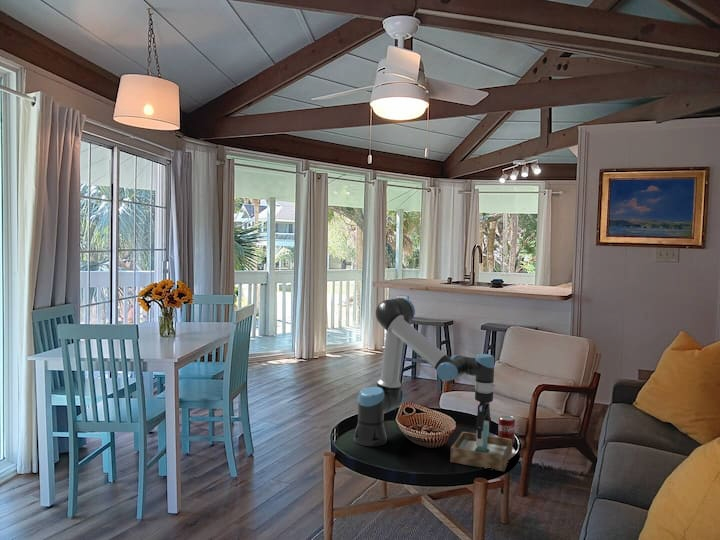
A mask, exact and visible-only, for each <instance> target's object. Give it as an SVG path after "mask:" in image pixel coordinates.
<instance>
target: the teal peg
mask: <svg viewBox="0 0 720 540" xmlns="http://www.w3.org/2000/svg"><path fill="white" fill-rule="evenodd" d="M478 428H480V427H478ZM487 437H488V425H487V424H484V425H483V447H482V446H478V447H477V451H479V452H485V453H487Z"/></svg>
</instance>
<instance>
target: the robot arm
mask: <svg viewBox="0 0 720 540" xmlns="http://www.w3.org/2000/svg"><path fill="white" fill-rule="evenodd" d="M415 315H416V309H415V305H414V304H413V302H412V301H411V300H409V299H408V298H405V297H397V298H389V299H384V300H382V301H381V302H379V303H378V305H377V306H376V308H375V318H376V321H377V322H378V323H379V324H380V326H382V327H381V328H383V329H385V331H386V334H385V341H384V343H385V344H384V347H383V348H384V351H383V355H382V356H383V358H382V367H381V373H380V378H379V379H378V380H377V381H376V386H370V387H368V386H366V387H364V388H362V389H361V390H360V391H359V393H358V398H357V402H358V404H357V408H358V409H357V425H356V428H355V430H354V434H353V441H354V443H356V444H358V445H359V446H363V447H379V446H382V445H383V446H384V445H385V444H386V443H388V442H387V441H388V436H387V435H388V434H387V433H386V430H385V429H386V428H385V424H384V416H385V415H384V414H387V413H389V412H391V411H395V410H396V409H398V408H399V407H400V406H401V405H402V404H403V402H404V400H405V394H404V390H403V388H402V383H401V382H400V374H401V365H402V359H403V358H402V357H403V352H404V351H403V350H404V344H405V345H406V346H408V347H409V348H410V349H411V350H413V351H414V353H416V354H417V355H418V356H419V357H420V358H422V359H423V360H424V361H425V362H427V364H429V365H430V366H431V367H432V368H433V369H435V370H436V375H437V377H438V378H439V379H440V380H441V381H444V382H449V381H453V380H455V379H457V378H459V377H461V376H464V375H468V376H473V377H475V381H474V382H475V383H474V385H475V386H474V390H475V391H474V399H475V401H476V402H479V404H478V406H477V415H476V422H475V423H476V424H475V427H474V431H475V432H476V446H482V447H483V425H484V424H487V425H488V436H490V435H489V434H490V421H492V417H491V410H490V403H492V402H493V400H494V387H496V384H494V382H495V381H494V380H495V357H494V355H491V354H489V353H488V354H487V353H478V354H477V355H476V357H472V356H471V357H469V356H463V355H460V354H459V355H456V354H455V355H454V354H453V355H451V356H450V357H449V356H448V355H446V354H445V352H443V351H442V350H441V349H439V348H438V347H437V346H436V345H435V344H433V342H431V341H430V340H429V339H428V338H427V337H425V335H423V334H422V333H421V332H420V331H418V330H417V329H416V328H415V327H413V325H411V324H410V322H411V321H412V320H413V319H414V317H415ZM478 427H480V428H478Z"/></svg>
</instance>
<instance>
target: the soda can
mask: <svg viewBox="0 0 720 540" xmlns="http://www.w3.org/2000/svg"><path fill="white" fill-rule="evenodd" d="M515 430H516V419H515V418H514V417H513V416H511V415H500V416H499V417H498V428H497V431H498V432H497V437H501V438H508V439H512V447H513V446H514V445H515V437H516V435H515V434H516V431H515Z"/></svg>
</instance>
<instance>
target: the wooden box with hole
mask: <svg viewBox="0 0 720 540" xmlns="http://www.w3.org/2000/svg"><path fill="white" fill-rule="evenodd" d="M477 447H478V446H476V433H474V432H468V431H461V433H460V434H459V435H458V437H457V438H456V440H455V441H454V443H453V444H452V445H451V446H450V459H449V462H450V463H455V464H461V465H465V466H472V467H477V468H482V467H484V468H483V469H487V468H492V469H491V470H493V469H495V470H494V471H499V472H505V471H506V469H507V467H508V464H509V461H510V459H509V458H511V456H512V454H513V446H512V439H508V438H501V437H498V436H494V435H489V436H488V437H487V453H485V452H479V451H477ZM508 460H509V461H508ZM507 463H508V464H507Z"/></svg>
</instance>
